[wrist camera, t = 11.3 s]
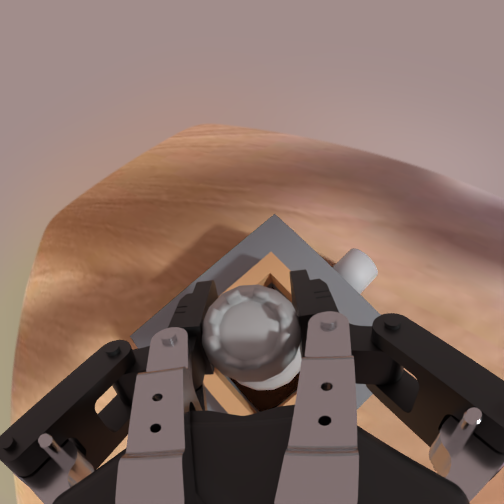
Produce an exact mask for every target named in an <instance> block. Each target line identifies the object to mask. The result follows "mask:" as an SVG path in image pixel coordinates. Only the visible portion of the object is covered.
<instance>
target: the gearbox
mask: <svg viewBox="0 0 504 504" xmlns="http://www.w3.org/2000/svg"><path fill="white" fill-rule="evenodd" d="M304 269H306V270H307V273H308V276H309V279H310V280H313V279H321V280H322V281H324V282H325V283H327V285H328V288H329V290H330V292H331V295H332V297H333V299H334V301H335V304H336V306H337V309H338V311H339V313H341V314H343V315H345V316H346V317H347V318H348V321H349V323H350V324H353V325H358V326H372V324H373V321H374V320H375V319H376V318H377V317H378V316H380V314H379V313H378V312H377V311H376V310H375V309H374V308H373V307H372V306H371V305H370V304H369V303H368V302H367V301H366V300H365V299H364V298H363V297H362V296H361V295H360V293H361V292H362V291H363V290H364V289H365V288H366V287H367V286H368V285H369V284H370V283H371V282H372V281H373V280H374V278H375V277H376V276H377V274H378V271H377V268H376V266H375V264H374V263H373V261H372V260H371V259H370V258H369V257H368V256H367V255H366V254H365V253H364V252H362V251H360V250H358V249H355V248H353V249H351V250H350V251H349V252H348V253H347V254H346V255H345V256H344V257H343V258H341V259H340V260H339V261H338V262H337V263H336V264H335V265H334V266H333V267H331V266H330V265H329V264H328V263H327V262H326V261H325V260H324V259H323V258H322V257H321V256H320V255H319V254H318V253H317V252H315V251H314V250H313V249H312V248H311V247H310V246H309V245H308V244H307V243H306V242H305V241H304V240H303V239H302V238H301V237H299V236H298V235H297V234H296V233H295V232H294V231H293V230H292V229H291V228H290V227H289V226H288V225H286V224H285V223H284V222H283V221H282V220H281V219H280V218H279V217H278V216H277V215H275V214H274V215H273V216H272V217H270V218H269V219H268V220H267V221H265V222H264V223H263V224H262V225H261V226H259V227H258V228H257V229H256V230H255V231H253V232H252V233H251V234H250V235H249V236H247V237H246V238H245V239H244V240H243V241H241V242H240V243H239V244H238V245H237V246H235V247H234V248H233V249H232V250H231V251H229V252H228V253H227V254H226V255H225V256H224V257H222V258H221V259H220V260H219V261H218V262H216V263H215V264H214V265H213V266H212V267H210V268H209V269H208V270H207V271H206V272H205V273H203V274H202V275H201V276H200V277H199V278H197V279H196V280H195V281H194V282H193V283H192V284H190V285H189V286H188V287H187V288H186V289H184V290H183V291H182V292H181V293H180V294H179V295H177V296H176V297H175V298H174V299H173V300H172V301H170V302H169V303H168V304H167V305H166V306H165V307H163V308H162V309H161V310H160V311H159V312H158V313H156V314H155V315H154V316H153V317H152V318H151V319H149V320H148V321H147V322H146V323H145V324H144V325H142V326H141V327H140V328H139V329H138V330H137V331H135V332H134V333H133V334H132V335H131V336H130V337H131V338H132V340H133V341H134V343H135V344H136V346H137V347H138V349H139V348H143V347H147V346H150V343H151V339H152V337H153V336H154V335H155V334H156V333H158V332H159V331H161V330H163V329H166V328H168V326H169V324H170V321H171V319H172V317H173V314H174V312H175V310H176V308H177V305H178V303H179V300H180V299H181V298H183V297H184V296H185V295H186V294H189V293H193V290H194V288H195V285H196V283H197V282H201V281H210V280H214V282H215V285H216V289H217V294H218V297H219V296H220V295H221V294H222V293H225V292H227V291H229V290H231V289H233V288H236V287H238V286H242V285H258V284H259V285H262V286H265V287H268V288H271V287H273V288H274V289H275V290H277V291H278V292H279V293H280V294H282V295H283V296H284V297H285V298H286V299H288V300H289V301H290V302H291V303H292V296H291V285H290V273H289V272H290V271H296V270H304ZM203 382H204V385H205V391H206V401H207V410H208V411H215V412H221V413H227V414H233V415H239V416H246V415H250V414H254V413H258V412H259V411H258V410H257V408H256V407H255V406H254V405H253V404H252V403H251V402H250V401H249V400H248V399H247V398H246V396H245V395H244V394H243V393H242V392H241V391H240V390H239V389H238V387H237V386H236V385H235V384H234V383H233V382H232V381H231V380H230V378H229V377H227V376H225V375H223V374H222V373H221V372H220V371H219V370H218V369H217V368H216V367H215V368H214V374H211V375H204V380H203ZM372 394H373V393H372V392H371V391H369V389H368V388H367V387H366V384H356V405H357V409H358V408H359V407H360V406H361V405H362V404H363V403H364V402H365V401H366V400H367V399H368V398H369V397H370V396H371V395H372ZM296 395H297V390H296V391H294V392H293V393H292V394H291V395H290V396H289V397H287V398H286V399H285V400H284V401H283V402H282V403H280V404H279V405H278V406H277V407H279V406H287V405H295V402H296Z"/></svg>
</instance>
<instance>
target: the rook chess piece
mask: <svg viewBox="0 0 504 504" xmlns="http://www.w3.org/2000/svg"><path fill="white" fill-rule="evenodd" d="M300 342H301V327H300V319H299V316H298V315H297V313H296V311H295V309H294V307H293V305H292V303H291V302H290V301H289V300H288V299H286V298H285V297H284V296H283V295H282V294H280V293H279V292H278V291H277V290H274V289H271V288H268V287H265V286H262V285H259V284H258V285H242V286H238V287H236V288H233V289H231V290H229V291H227V292H225V293H222V294H221V295H220V296H219V297H218V298H217V300H216V301H215V302H214V303H213V304H212V305H211V306H210V307H209V309H208V311H207V313H206V316H205V318H204V321H203V323H202V345H203V348H204V350H205V353H206V355H207V357H208V360H209V362H210V363H211V364H212V365H213V366H214V367H216V368H217V369H218V370H219V371H220V372H221V373H222V374H223V375H225V376H227V377H230V378H232V379H235V380H236V381H237V382H238V383H240V384H241V385H244V386H247V387H249V388H252V389H255V390H274V389H276V388H279V387H281V386H283V385H285V384H287V383H289V382H290V381H291V380H292V379H293V378H294V377H295V376H296V375H297V374H298V372H299V371H300V367H301V360H302V359H301V353H300V348H299V345H300Z"/></svg>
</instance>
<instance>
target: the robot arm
mask: <svg viewBox="0 0 504 504" xmlns="http://www.w3.org/2000/svg"><path fill="white" fill-rule="evenodd" d="M289 273H290V285H291V296H292V305H293V307H294V309H295V311H296V313H297V315H298V316H299V319H300V327H301V342H300V345H299V348H300V353H301V359H302V360H301V367H300V375H299V382H298V388H297V395H296V402H295V405H287V406H279V407H275V408H272V409H269V410H265V411H261V412H258V413H254V414H250V415H246V416H239V415H233V414H227V413H221V412H215V411H208V410H207V401H206V391H205V385H204V382H203V380H204V375H211V374H214V368H215V367H214V366H213V365H212V364H211V363H210V362H209V360H208V357H207V355H206V353H205V350H204V348H203V345H202V323H203V321H204V318H205V316H206V313H207V311H208V309H209V307H210V306H211V305H212V304H213V303H214V302H215V301H216V300H217V298H218V294H217V289H216V285H215V282H214V280H210V281H201V282H197V283H196V285H195V288H194V290H193V293H189V294H186V295H185V296H184V297H183V298H181V299H180V300H179V303H178V305H177V308H176V310H175V312H174V314H173V317H172V319H171V321H170V324H169V326H168V328H166V329H163V330H161V331H159V332H158V333H156V334H155V335H154V336H153V337H152V339H151V343H150V346H147V347H143V348H139V349H135V350H132V348H131V346H130V344H129V343H128V342H127V341H124V340H116V341H112V342H109V343H107V344H105V345H104V346H102V347H101V348H100V349H99V350H98V351H97V352H95V353H94V354H93V355H92V356H91V357H89V358H88V359H87V360H86V361H85V362H84V363H82V364H81V365H80V366H79V367H78V368H77V369H75V370H74V371H73V372H72V373H71V374H70V375H68V376H67V377H66V378H65V379H64V380H63V381H61V382H60V383H59V384H58V385H57V386H56V387H55V388H53V389H52V390H51V391H50V392H49V393H48V394H47V395H45V396H44V397H43V398H42V399H41V400H40V401H39V402H37V403H36V404H35V405H34V406H33V407H32V408H31V409H30V410H28V411H27V412H26V413H25V414H24V415H23V416H22V417H21V418H19V419H18V420H17V421H16V422H15V423H14V424H13V425H12V426H11V427H9V428H8V429H7V430H6V431H5V432H4V433H3V434H2V435H1V436H0V460H1V461H2V462H3V463H4V464H5V465H6V466H7V467H8V468H9V469H10V470H11V471H12V472H13V473H14V474H15V475H16V476H17V477H18V478H19V479H20V480H21V481H23V482H24V483H25V484H26V485H27V486H29V487H30V488H31V489H32V490H33V492H34V493H35V494H36V495H37V496H38V497H39V498H40V500H41V501H42V502H43V503H44V504H470V503H469V502H470V501H471V500H472V499H473V498H474V497H475V496H476V495H477V493H478V492H479V491H480V490H481V489H482V488H483V487H484V486H485V485H486V483H487V482H488V481H490V480H491V479H492V478H493V477H494V476H495V475H496V474H497V473H498V472H499V471H500V470H501V469H502V468H503V467H504V381H503V380H502V379H500V378H499V377H497V376H496V375H494V374H493V373H491V372H490V371H488V370H487V369H485V368H484V367H482V366H481V365H479V364H478V363H476V362H475V361H473V360H472V359H470V358H469V357H467V356H466V355H464V354H463V353H461V352H460V351H458V350H457V349H455V348H454V347H452V346H450V345H449V344H447V343H446V342H444V341H443V340H441V339H440V338H438V337H436V336H435V335H433V334H432V333H430V332H429V331H427V330H425V329H424V328H422V327H421V326H419V325H418V324H416V323H414V322H413V321H411V320H410V319H408V318H407V317H405V316H403V315H400V314H394V313H389V314H383V315H380V316H378V317H377V318H376V319H375V320H374V321H373V324H372V326H358V325H353V324H350V323H349V321H348V318H347V317H346V316H345V315H343V314H341V313H339V311H338V309H337V306H336V304H335V301H334V299H333V297H332V295H331V292H330V290H329V288H328V285H327V283H325V282H324V281H322V280H321V279H313V280H310V279H309V276H308V273H307V270H306V269H304V270H296V271H290V272H289ZM404 368H405V369H406V370H408V371H409V372H410V373H412V374H413V375H414V376H415V377H416V378H417V380H416V379H415V378H414V377H412V376H411V375H410V374H409V373H407V372H406V371H405V370H404ZM356 384H366V387H367V388H368V389H369V391H371V392H372V393H373V394H374V395H375V396H376V397H377V398H378V399H379V400H380V401H381V402H382V403H383V404H384V405H385V406H386V407H387V408H389V409H390V410H391V411H392V412H393V413H394V414H395V415H396V416H397V417H398V418H399V419H400V420H401V421H402V422H404V423H405V424H406V425H407V426H408V427H409V428H410V429H411V430H412V431H413V432H414V433H415V434H416V435H418V436H419V437H420V438H421V439H422V440H423V441H424V442H425V443H426V444H427V445H428V446H429V447H430V450H429V458H430V461H431V463H432V465H433V468H434V470H435V471H437V473H435V472H434V471H432V470H430V469H428V468H426V467H425V466H423V465H421V464H419V463H417V462H416V461H414V460H412V459H411V458H409V457H407V456H405V455H404V454H402V453H400V452H399V451H397V450H395V449H394V448H392V447H390V446H389V445H387V444H386V443H384V442H382V441H381V440H379V439H378V438H376V437H374V436H373V435H371V434H370V433H368V432H367V431H365V430H363V429H362V428H360V427H359V426H357V405H356ZM111 386H113V388H114V389H115V391H116V393H117V395H116V396H115V397H114V398H113V399H112V400H111V401H110V402H109V404H108V405H107V406H106V407H105V408H104V409H103V410H102V411H101V412H100V413H99V414H97V413H96V411H95V403H96V401H97V400H98V398H99V397H101V396H102V395H103V394H104V393H105V392H106V391H107V390H108V389H109V388H110V387H111ZM127 435H128V440H127V448H126V449H124V450H123V451H122V452H120V453H119V454H118V455H116V456H115V457H113V458H112V459H111V460H109V461H108V462H107V463H105V464H104V465H102V466H101V467H100V468H98V467H99V466H100V465H101V464H102V463H103V462H104V460H105V459H106V458H107V457H108V456H109V455H110V454H111V453H112V452H113V450H114V449H115V448H116V447H117V446H118V445H119V444H120V443H121V442H122V440H123V439H124V438H125V437H126V436H127ZM97 468H98V469H97ZM96 469H97V470H96Z"/></svg>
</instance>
